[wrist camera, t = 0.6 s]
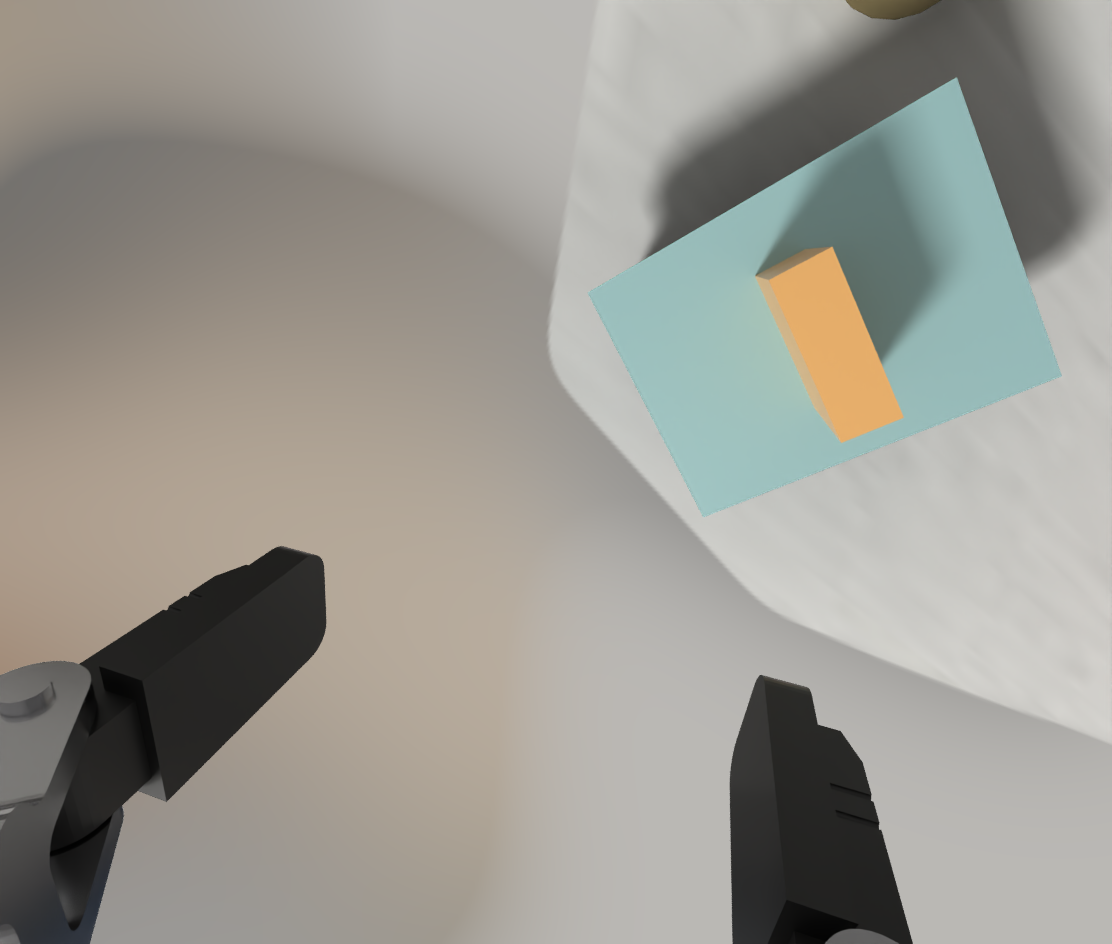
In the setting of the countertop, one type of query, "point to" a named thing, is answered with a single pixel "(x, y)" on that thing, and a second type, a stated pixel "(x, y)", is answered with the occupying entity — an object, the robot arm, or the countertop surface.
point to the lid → (833, 310)
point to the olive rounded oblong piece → (891, 7)
